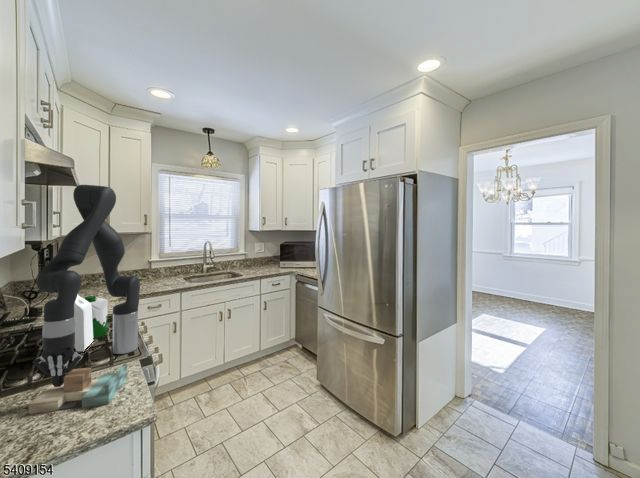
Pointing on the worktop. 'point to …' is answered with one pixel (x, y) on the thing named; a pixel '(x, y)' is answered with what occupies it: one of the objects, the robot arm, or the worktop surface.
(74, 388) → the block
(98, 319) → the milk carton
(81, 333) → the milk
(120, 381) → the pixelated toy pickaxe
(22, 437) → the worktop surface
